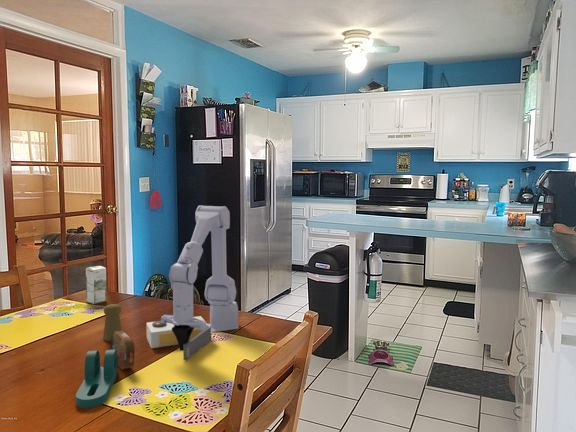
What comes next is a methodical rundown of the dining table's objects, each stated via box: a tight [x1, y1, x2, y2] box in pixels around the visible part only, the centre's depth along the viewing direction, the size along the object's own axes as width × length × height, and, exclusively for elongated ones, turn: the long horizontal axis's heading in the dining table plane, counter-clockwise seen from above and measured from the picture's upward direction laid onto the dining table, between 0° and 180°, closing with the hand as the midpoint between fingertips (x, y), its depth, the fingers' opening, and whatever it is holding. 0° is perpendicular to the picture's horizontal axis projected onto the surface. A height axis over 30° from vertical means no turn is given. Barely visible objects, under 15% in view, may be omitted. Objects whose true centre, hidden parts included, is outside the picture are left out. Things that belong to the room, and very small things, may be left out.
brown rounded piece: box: [110, 330, 136, 370], centre depth 129 cm, size 15×3×8 cm, turn 36°
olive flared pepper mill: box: [103, 303, 123, 342], centre depth 149 cm, size 6×6×11 cm
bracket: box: [75, 349, 119, 409], centre depth 114 cm, size 18×7×8 cm, turn 10°
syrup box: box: [85, 265, 107, 305], centre depth 189 cm, size 6×6×14 cm
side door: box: [182, 327, 212, 361], centre depth 139 cm, size 17×2×4 cm, turn 164°
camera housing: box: [146, 315, 209, 349], centre depth 148 cm, size 18×11×6 cm, turn 115°
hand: (183, 349), depth 134 cm, fingers closed
